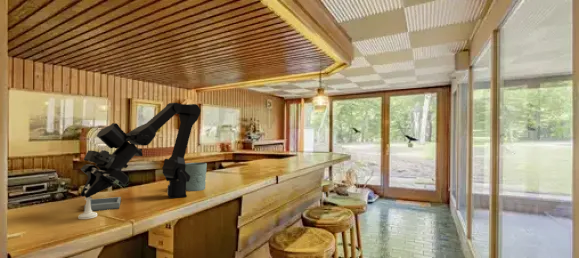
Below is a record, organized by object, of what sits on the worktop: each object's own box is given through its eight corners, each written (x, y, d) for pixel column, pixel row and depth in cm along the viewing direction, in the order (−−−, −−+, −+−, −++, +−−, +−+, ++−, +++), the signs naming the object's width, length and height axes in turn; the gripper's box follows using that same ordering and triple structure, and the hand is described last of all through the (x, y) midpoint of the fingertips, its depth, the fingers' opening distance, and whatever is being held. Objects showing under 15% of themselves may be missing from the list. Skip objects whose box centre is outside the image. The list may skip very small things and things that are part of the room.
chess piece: (81, 215, 89) (81, 183, 89) (99, 213, 91) (100, 182, 91) (75, 219, 84) (76, 186, 85) (95, 218, 86) (95, 185, 86)
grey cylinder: (202, 191, 126) (202, 164, 126) (179, 191, 127) (180, 164, 127) (209, 187, 136) (209, 162, 137) (188, 186, 137) (188, 162, 137)
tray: (120, 202, 106) (120, 196, 106) (119, 208, 97) (119, 202, 97) (88, 204, 101) (89, 199, 101) (84, 212, 93) (84, 205, 93)
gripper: (87, 140, 96) (46, 177, 86) (119, 142, 87) (78, 183, 77) (111, 161, 103) (75, 198, 93) (143, 165, 94) (107, 206, 84)
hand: (83, 196), depth 87 cm, fingers closed on chess piece
